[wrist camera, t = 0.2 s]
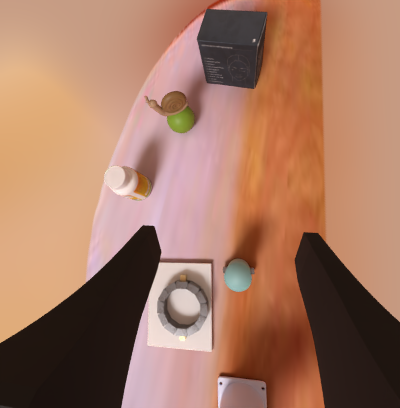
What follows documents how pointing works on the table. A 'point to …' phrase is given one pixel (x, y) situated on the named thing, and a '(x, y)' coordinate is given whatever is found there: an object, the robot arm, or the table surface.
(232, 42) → the box
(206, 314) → the collar plate
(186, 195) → the table surface
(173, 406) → the table surface
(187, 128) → the snail figurine
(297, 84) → the table surface
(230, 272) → the teal peg
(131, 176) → the supplement bottle
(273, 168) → the table surface
